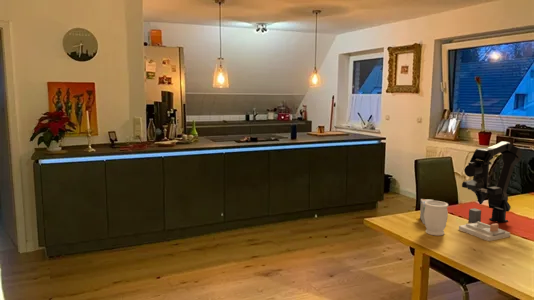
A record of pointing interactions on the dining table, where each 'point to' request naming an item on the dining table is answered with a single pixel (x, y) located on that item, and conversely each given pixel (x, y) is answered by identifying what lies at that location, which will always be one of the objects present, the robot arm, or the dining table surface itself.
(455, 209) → the dining table surface
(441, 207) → the jar
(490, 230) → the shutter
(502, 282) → the dining table surface
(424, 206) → the light bulb box
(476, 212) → the plug
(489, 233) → the socket plate
